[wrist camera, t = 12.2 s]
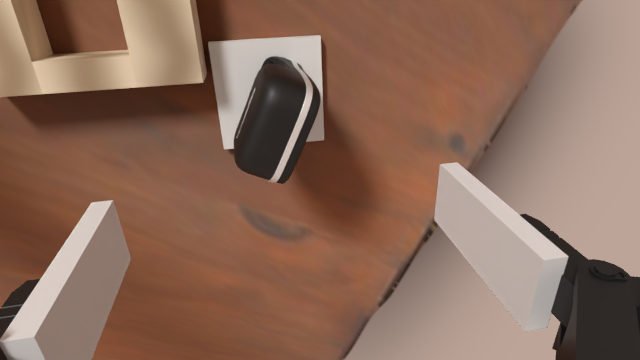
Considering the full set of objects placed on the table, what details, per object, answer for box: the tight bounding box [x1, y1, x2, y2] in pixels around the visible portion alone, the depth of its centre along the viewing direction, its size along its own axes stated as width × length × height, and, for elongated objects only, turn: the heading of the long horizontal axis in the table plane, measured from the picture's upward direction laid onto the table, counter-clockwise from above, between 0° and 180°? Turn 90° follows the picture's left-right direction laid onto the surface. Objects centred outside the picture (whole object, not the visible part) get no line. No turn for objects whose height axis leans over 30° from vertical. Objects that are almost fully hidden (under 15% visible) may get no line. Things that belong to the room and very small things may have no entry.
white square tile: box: [208, 35, 324, 149], centre depth 35 cm, size 9×9×1 cm
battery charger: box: [234, 56, 321, 184], centre depth 29 cm, size 7×4×11 cm, turn 156°
